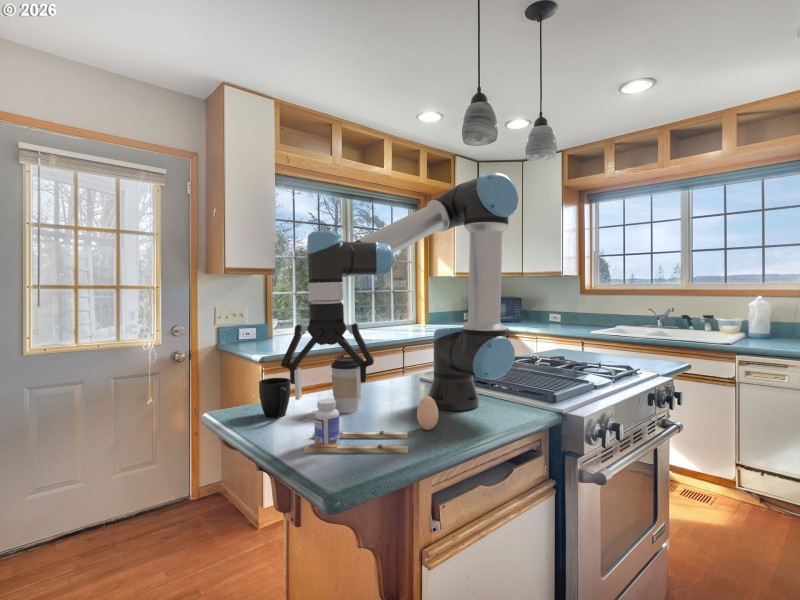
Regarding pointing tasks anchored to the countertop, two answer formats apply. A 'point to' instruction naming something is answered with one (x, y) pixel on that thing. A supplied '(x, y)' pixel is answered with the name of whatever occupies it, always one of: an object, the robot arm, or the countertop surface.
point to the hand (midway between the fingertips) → (329, 397)
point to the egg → (427, 413)
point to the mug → (274, 396)
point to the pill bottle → (326, 423)
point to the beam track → (361, 448)
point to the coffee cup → (345, 384)
